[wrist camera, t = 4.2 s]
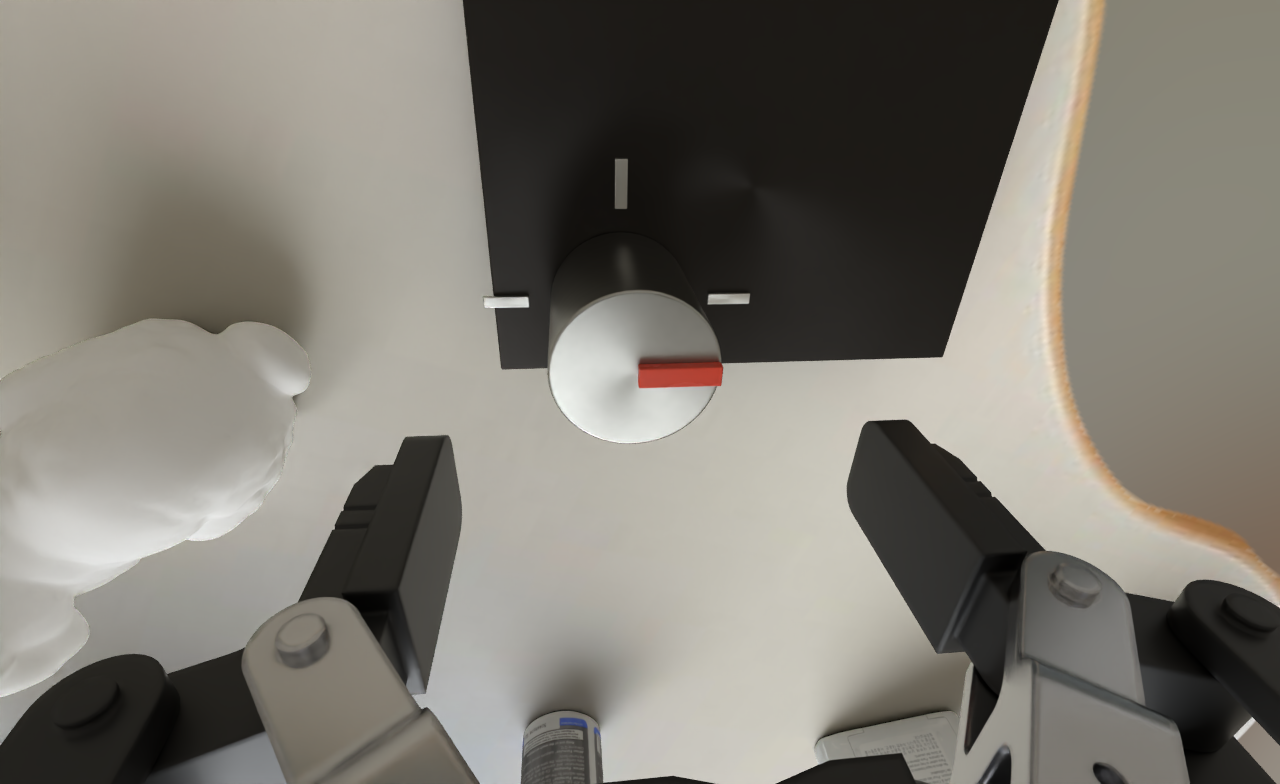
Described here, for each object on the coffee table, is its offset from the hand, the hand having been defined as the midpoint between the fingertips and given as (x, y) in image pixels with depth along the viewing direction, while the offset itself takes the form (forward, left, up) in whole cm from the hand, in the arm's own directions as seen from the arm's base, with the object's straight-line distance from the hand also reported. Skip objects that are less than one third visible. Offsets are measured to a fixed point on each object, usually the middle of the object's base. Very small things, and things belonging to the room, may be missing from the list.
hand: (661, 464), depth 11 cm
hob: (+4, +3, -12) cm, 13 cm away
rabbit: (-17, -6, -12) cm, 22 cm away
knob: (0, 0, -9) cm, 9 cm away
